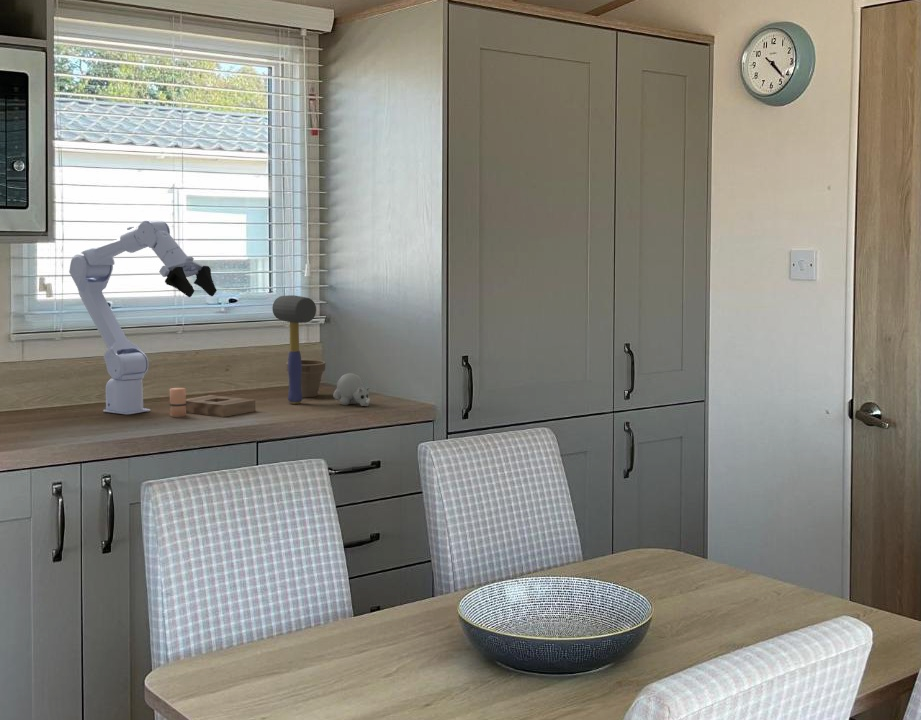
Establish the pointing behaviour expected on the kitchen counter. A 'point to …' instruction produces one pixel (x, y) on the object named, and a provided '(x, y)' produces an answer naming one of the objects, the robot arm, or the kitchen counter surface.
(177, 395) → the peg
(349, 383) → the chubby cartoon animal
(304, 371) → the flower pot
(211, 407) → the socket board
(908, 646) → the kitchen counter surface
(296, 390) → the rubber mallet
